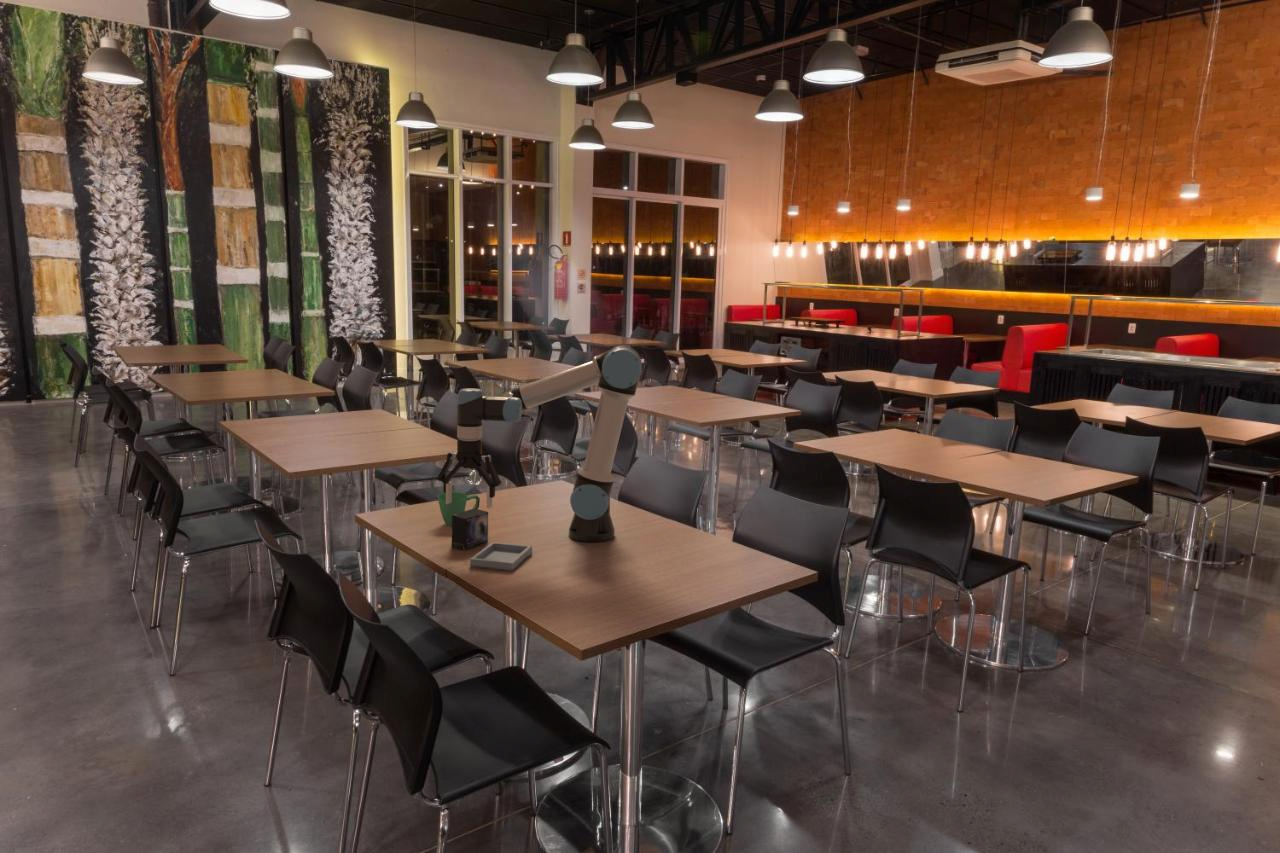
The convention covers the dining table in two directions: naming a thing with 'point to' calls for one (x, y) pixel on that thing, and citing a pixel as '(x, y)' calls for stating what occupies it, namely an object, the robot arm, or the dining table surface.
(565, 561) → the dining table surface
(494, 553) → the tray
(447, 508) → the mug
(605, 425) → the robot arm
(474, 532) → the small box
